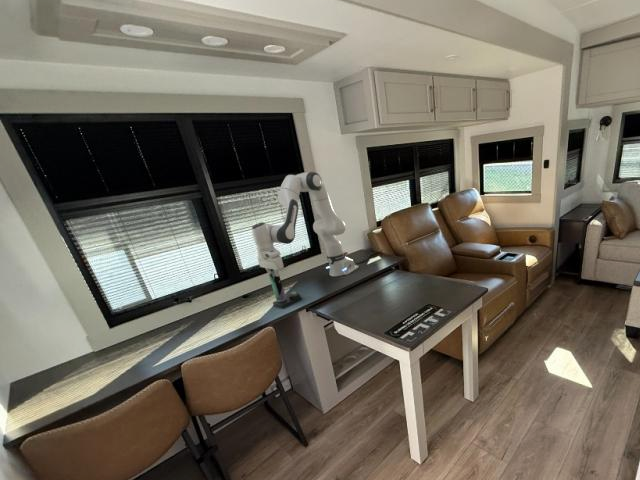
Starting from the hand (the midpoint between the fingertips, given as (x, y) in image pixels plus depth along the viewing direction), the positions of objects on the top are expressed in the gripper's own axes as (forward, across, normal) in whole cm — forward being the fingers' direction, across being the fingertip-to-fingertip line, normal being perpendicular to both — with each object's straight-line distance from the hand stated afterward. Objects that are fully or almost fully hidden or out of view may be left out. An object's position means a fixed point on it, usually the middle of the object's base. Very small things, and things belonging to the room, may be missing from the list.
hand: (274, 275), depth 180 cm
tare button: (+15, +4, +6) cm, 17 cm away
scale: (+18, +2, +2) cm, 19 cm away
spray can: (+16, 0, 0) cm, 16 cm away
